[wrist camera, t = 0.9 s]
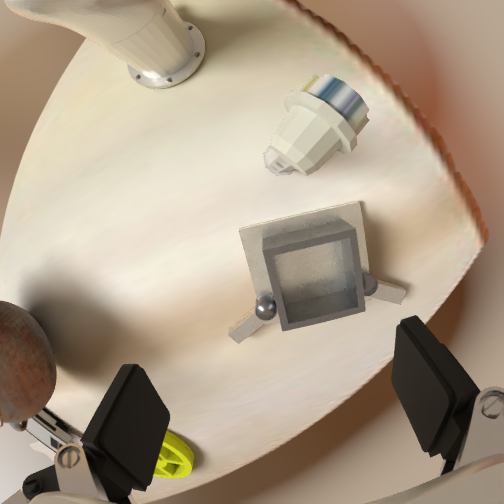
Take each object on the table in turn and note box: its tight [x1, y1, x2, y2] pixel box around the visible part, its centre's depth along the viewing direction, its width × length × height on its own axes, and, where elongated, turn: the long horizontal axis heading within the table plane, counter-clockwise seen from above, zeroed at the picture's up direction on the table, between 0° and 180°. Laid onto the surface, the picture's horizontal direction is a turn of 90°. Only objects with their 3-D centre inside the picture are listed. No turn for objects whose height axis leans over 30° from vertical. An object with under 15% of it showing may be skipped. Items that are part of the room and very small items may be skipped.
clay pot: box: [0, 301, 57, 431], centre depth 35 cm, size 26×25×30 cm
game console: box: [20, 408, 72, 453], centre depth 59 cm, size 21×32×8 cm, turn 58°
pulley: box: [153, 431, 194, 478], centre depth 57 cm, size 28×28×5 cm
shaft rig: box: [228, 201, 406, 344], centre depth 39 cm, size 18×30×7 cm, turn 104°
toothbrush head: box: [264, 74, 369, 176], centre depth 25 cm, size 5×7×25 cm
